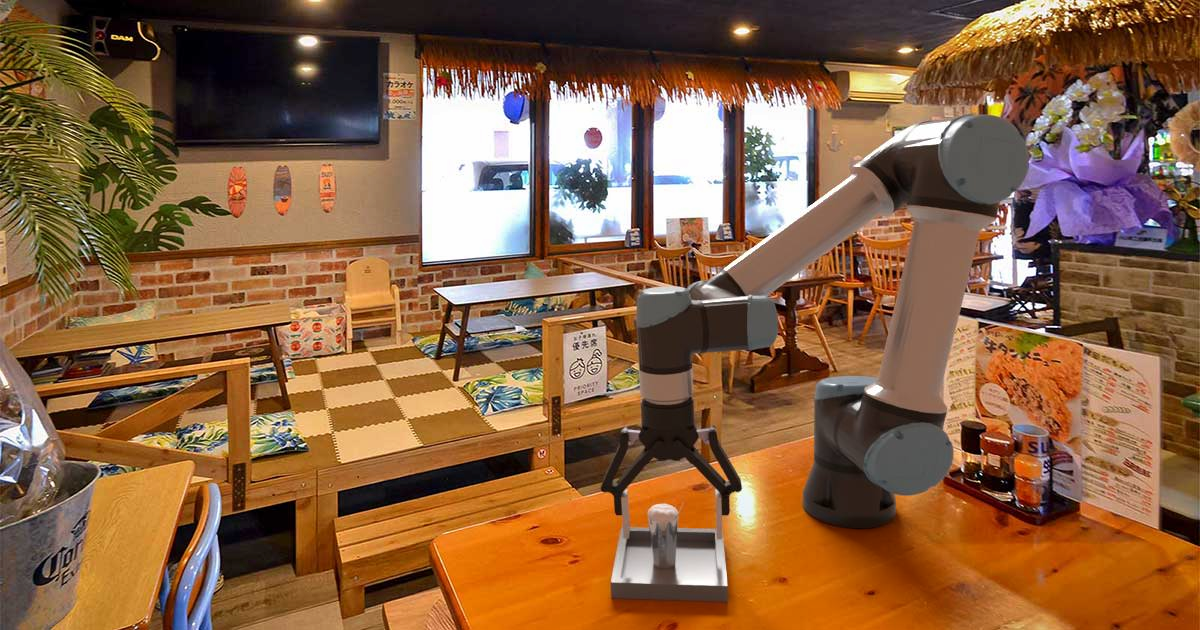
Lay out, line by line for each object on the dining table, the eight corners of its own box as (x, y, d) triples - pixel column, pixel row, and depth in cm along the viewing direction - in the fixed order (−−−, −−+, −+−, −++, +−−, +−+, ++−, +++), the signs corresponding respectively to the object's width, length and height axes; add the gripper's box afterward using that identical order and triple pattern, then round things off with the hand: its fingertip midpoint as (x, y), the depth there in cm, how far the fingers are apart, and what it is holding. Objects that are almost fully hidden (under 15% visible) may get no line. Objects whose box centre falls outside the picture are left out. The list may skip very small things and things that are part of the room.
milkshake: (683, 573, 103) (682, 509, 102) (646, 570, 104) (645, 507, 103) (686, 557, 108) (685, 495, 106) (651, 554, 109) (649, 493, 107)
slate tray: (722, 542, 113) (722, 529, 113) (727, 602, 98) (727, 586, 97) (621, 540, 115) (621, 526, 115) (611, 598, 100) (610, 582, 99)
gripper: (754, 386, 103) (756, 522, 107) (583, 390, 106) (592, 522, 111) (759, 403, 96) (761, 548, 100) (575, 406, 99) (585, 546, 103)
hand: (672, 534), depth 105 cm, fingers open, 13 cm apart
